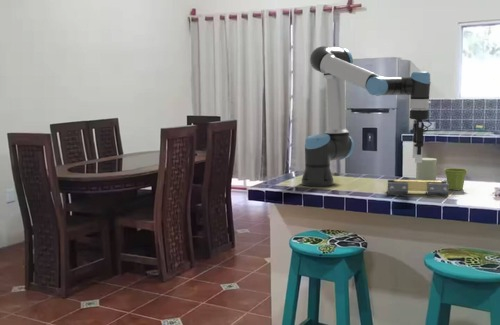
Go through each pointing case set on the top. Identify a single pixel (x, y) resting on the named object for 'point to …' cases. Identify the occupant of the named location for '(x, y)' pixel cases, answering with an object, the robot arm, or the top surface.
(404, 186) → the chain end left
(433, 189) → the chain end right
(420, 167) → the can
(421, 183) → the yellow wooden bar
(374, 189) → the top surface
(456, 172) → the plant pot
